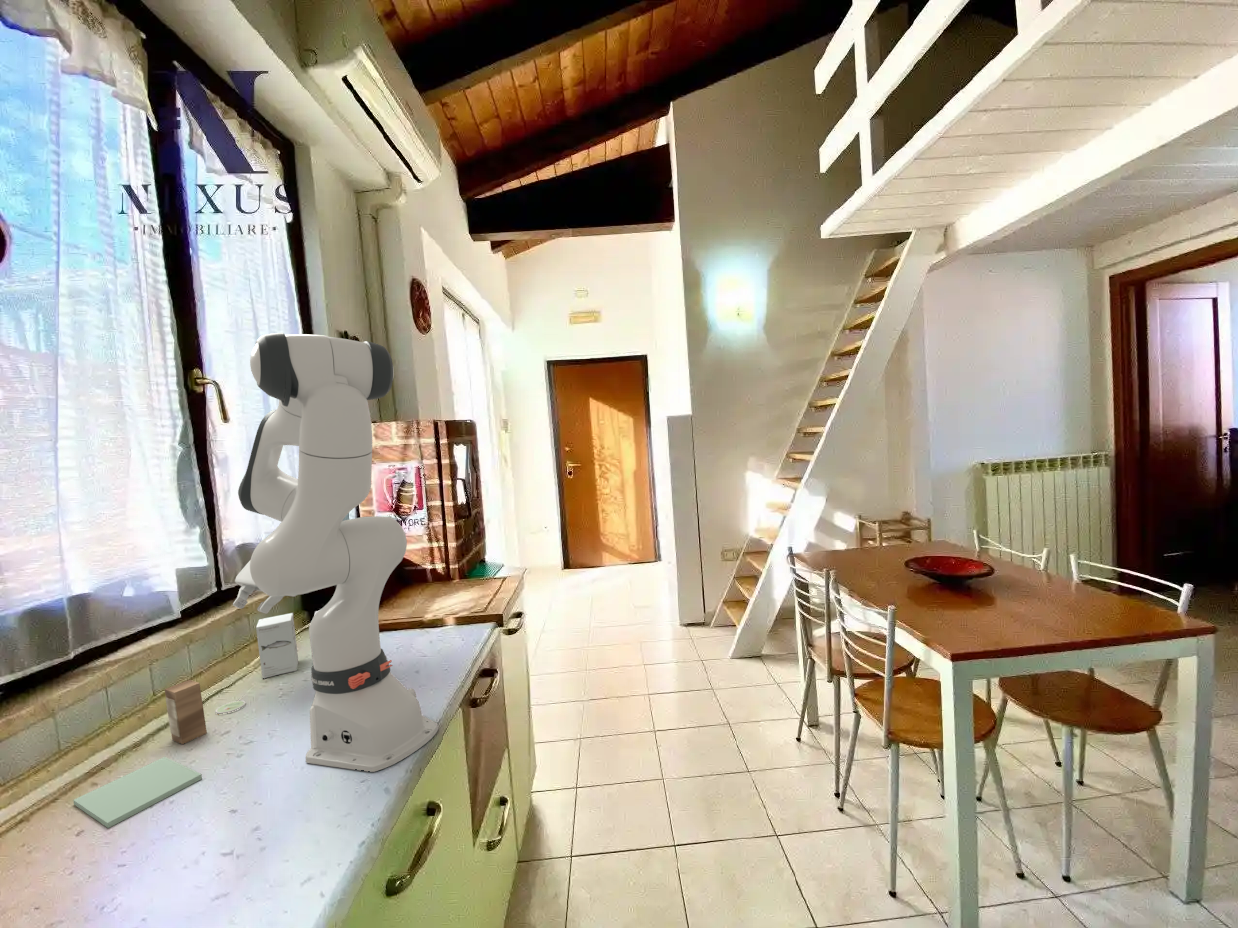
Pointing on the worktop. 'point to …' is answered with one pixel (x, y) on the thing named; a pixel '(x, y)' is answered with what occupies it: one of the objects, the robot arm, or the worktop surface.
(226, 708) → the sign
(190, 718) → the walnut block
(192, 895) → the worktop surface
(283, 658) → the supplement box
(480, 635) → the worktop surface
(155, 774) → the rubber mat
